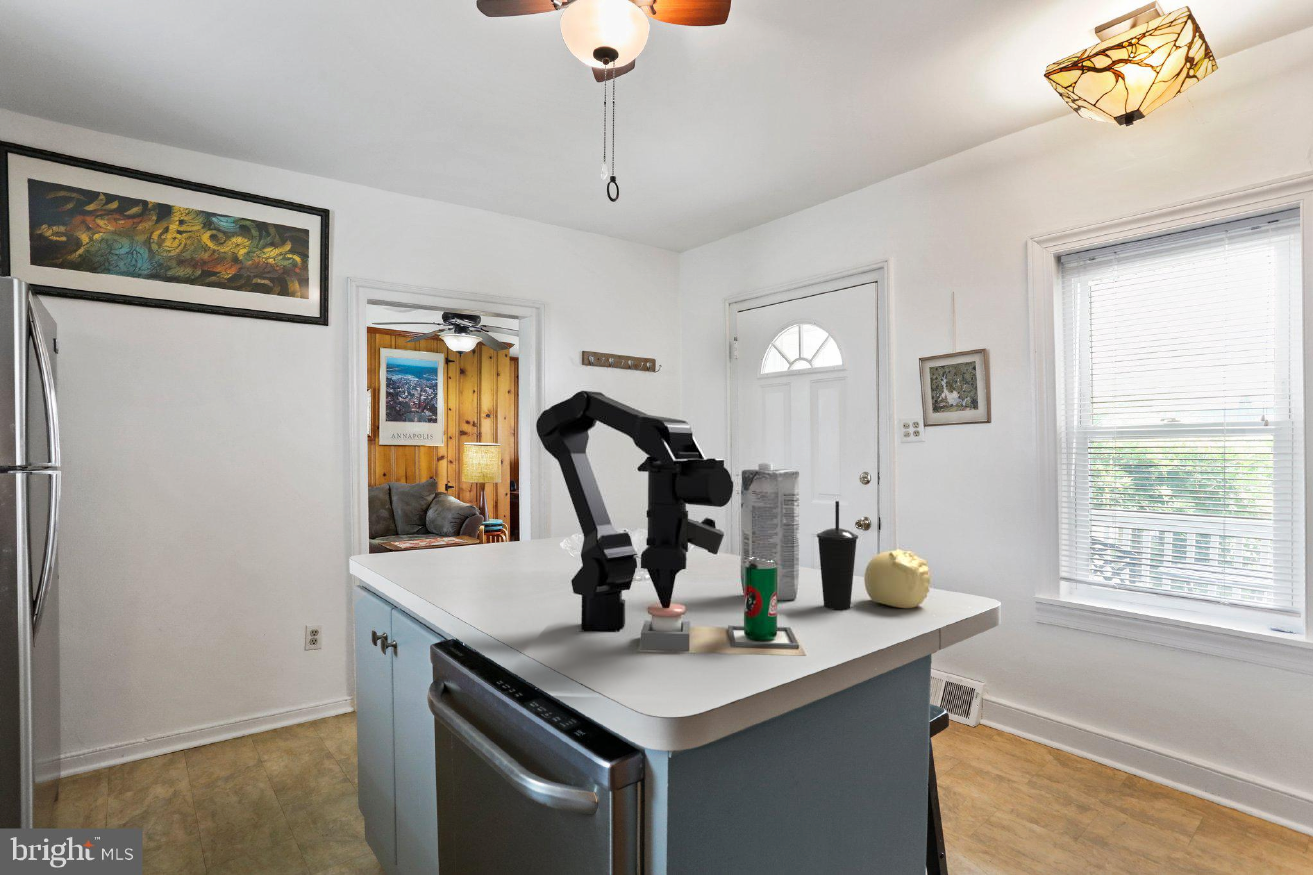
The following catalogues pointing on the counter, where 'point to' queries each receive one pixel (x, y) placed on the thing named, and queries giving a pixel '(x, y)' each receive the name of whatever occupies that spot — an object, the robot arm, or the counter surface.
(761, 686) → the counter surface
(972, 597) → the counter surface
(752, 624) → the soda can
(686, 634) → the button housing
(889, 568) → the sculpture
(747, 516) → the juice carton
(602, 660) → the counter surface
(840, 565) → the drinking cup
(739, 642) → the board
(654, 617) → the button
